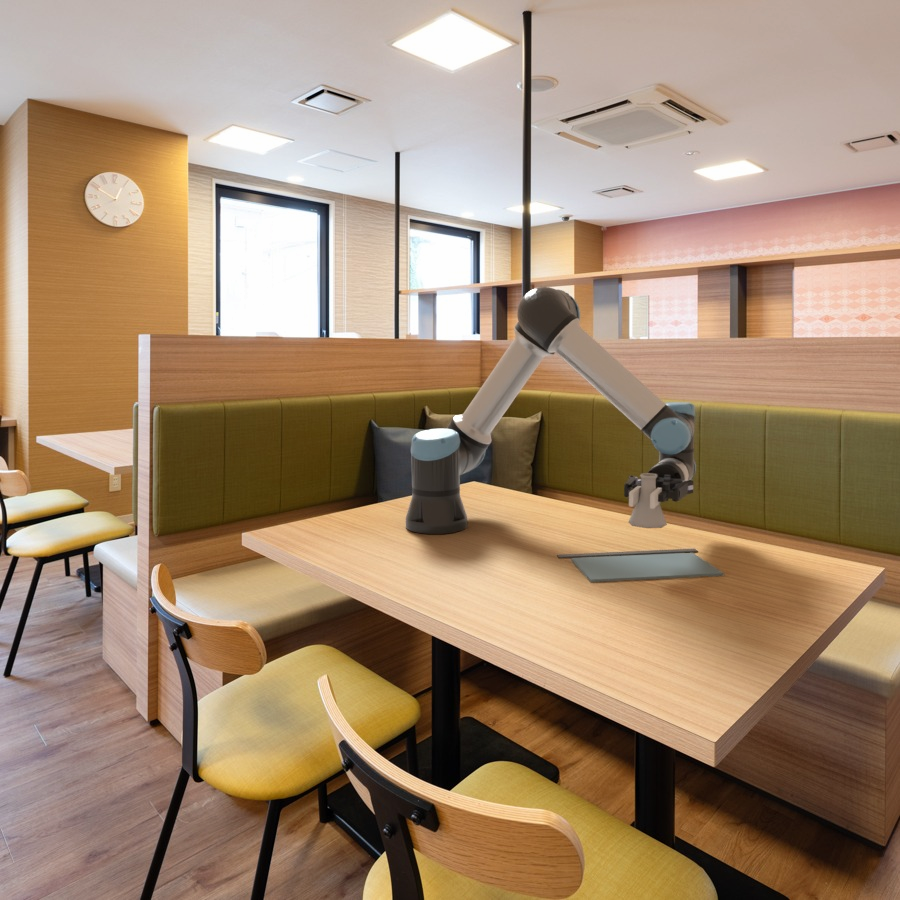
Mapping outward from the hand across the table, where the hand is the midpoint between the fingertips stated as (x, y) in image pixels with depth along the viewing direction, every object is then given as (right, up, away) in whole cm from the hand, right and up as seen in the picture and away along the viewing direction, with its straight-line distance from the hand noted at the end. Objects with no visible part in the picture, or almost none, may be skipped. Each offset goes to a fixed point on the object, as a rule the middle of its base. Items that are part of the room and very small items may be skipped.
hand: (641, 500), depth 126 cm
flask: (+3, -5, +6) cm, 8 cm away
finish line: (+2, -12, +16) cm, 20 cm away
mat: (+3, -14, +7) cm, 16 cm away
